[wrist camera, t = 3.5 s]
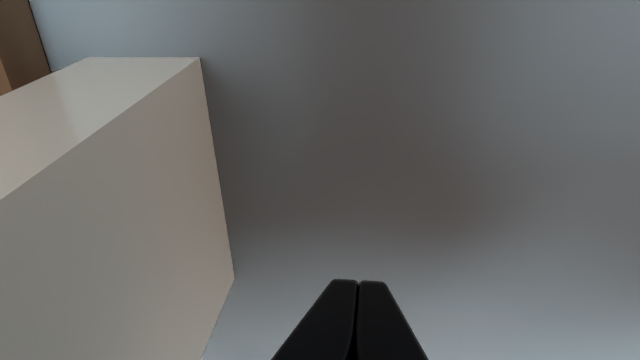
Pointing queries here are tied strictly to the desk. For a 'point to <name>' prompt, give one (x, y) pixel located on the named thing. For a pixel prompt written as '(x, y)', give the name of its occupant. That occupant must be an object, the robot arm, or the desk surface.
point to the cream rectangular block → (111, 214)
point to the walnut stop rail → (19, 47)
